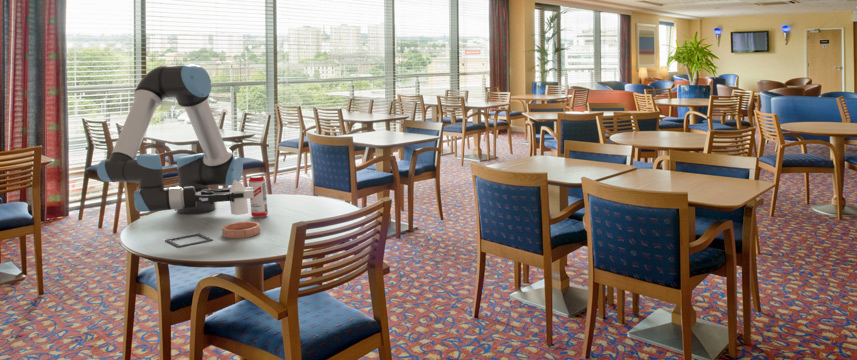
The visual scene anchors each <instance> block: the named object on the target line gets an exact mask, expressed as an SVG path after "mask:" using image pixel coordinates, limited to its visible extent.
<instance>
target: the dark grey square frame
mask: <svg viewBox="0 0 857 360" xmlns="http://www.w3.org/2000/svg"><path fill="white" fill-rule="evenodd" d="M195 236H198V237H201V238H203V239H205V240H199V241H194V242H189V243H185V244H178V243H176V242H174V241H176V240H175V239H177V240H180V238H182V239H185V238H186V237H187V238H190V237H195ZM170 240H172V241H170ZM164 241H165V242H166V241H167V242H166V243H168V244H170V245H172V246H174V247H176V248H178V247H179V248H184V247H187V246H194V245H197V244H198V245H199V244H202V243H207V242H212V241H214V239H213V238H211V237H208V236H206V235H205V234H202V233H200V232H199V233H194V234H193V233H192V234H188V235H183V236H182V235H181V236H177V237H172V238H169V239H165V240H164Z"/></svg>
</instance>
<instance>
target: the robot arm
mask: <svg viewBox="0 0 857 360" xmlns="http://www.w3.org/2000/svg"><path fill="white" fill-rule="evenodd" d="M211 83H212V81H211V76H210V75H209V72H208V71H207V70H206V69H205V68H204V67H203V66H202V65H201V66H200V65H198V64H190V63H189V64H188V63H187V64H182V65H181V64H180V65H179V64H178V65H174V64H173V65H160V66H157V67H154V68H153V69H151V70H150V71H149V72H147V74H145V75H144V76H143V78H142V79H141V80H140V81H139V83H138V84H137V86H136V88H135V90H134V92H133V97H134V100H133V103H132V105H131V107H130V109H129V113H128V115H127V117H126V119H125V121H124V124H123V126H122V129H121V131H120V134H119V135H118V138H117V140H116V142H115V145H114V147H113V149H112V152H111V154H110V156H109V159H103V160H101V161H100V162H99V163H98V164H97V167H96V173H97V177H98V178H99V179H100V180H101V181H103V182H107V183H127V182H128V183H139V189H137V190H134V193H133V203H134V208H135V210H136V211H137V212H139V213H141V212H142V213H144V212H150V213H152V212H162V211H172V210H174V212H177V213H178V212H179V213H178V214H181V213H183V215H190V214H191V215H194V214H203V213H207V212H211V211H213V210H214V211H215V209H216V203H219V202H220V203H221V202H230V201H232V202H234V200H235V199H247V200H248V199H250V198H254V193H253V187H249V186H247V187H246V191H234V192H230V189H231V187H232V185H233V181H234V180H236V181H239V182H240V181H241V179H242V176H243V173H244V170H243V169H244V165H243V161H242V159H241V157H239V156H234V155H233V152H232V150H231V149H230V148H228V147H226V145H225V142H224V140H223V137H222V134H221V132H220V130H219V127H218V124H217V122H216V119H215V117H214V115H213V114H214V113H212V109H211V107H210V105H209V102H208V99H209V98H210V93H211V91H212V84H211ZM167 98H175V99H176V102H177V104H178V106H180V107H181V108H184V110H185V112H186V114H187V117H188V118H189V121H190V124H191V125H192V129H193V131H194V133H195V136H196V138H197V140H198V142H199V146H200V147H201V149H202V152H201V153H194V154H190V155H184V156H181V157H178V158H177V159H176V170H177V171H176V172H177V180H178V186H177V187H175V186H174V187H165V186H164V184H165V183H164V174H163V173H164V172H163V165H162V160H161V158H162V157H161V155H160V154H158V153H142V154H138V152H139V149H140V147H141V144H142V142H143V140H144V138H145V135H146V132H147V130H148V128H149V125H150V123H151V121H152V119H153V116H154V113H155V111H156V109H157V107H159V106H160V105H161V104H162V102H163V100H164V99H167ZM210 186H220V187H221V186H226V187H223V188H213V189H212V188H210ZM228 186H230V187H228Z"/></svg>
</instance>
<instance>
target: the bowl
mask: <svg viewBox="0 0 857 360" xmlns="http://www.w3.org/2000/svg"><path fill="white" fill-rule="evenodd" d="M221 229H222V235H223V237H224V238H227V239H246V238H251V237H255V236H257V235H259V234H260V232H261V223H259V222H257V221H237V222H233V223H232V222H231V223H227V224H226V225H223V226H222V228H221Z"/></svg>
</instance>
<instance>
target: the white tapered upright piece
mask: <svg viewBox="0 0 857 360" xmlns="http://www.w3.org/2000/svg"><path fill="white" fill-rule="evenodd" d="M231 186H232V187H231ZM231 186H230V187H231V189H230V192H234V191H246V187H245V185H243V183H241V182H240V181H236V180H234V181H233V185H231ZM229 205H230V213H231V214H232V215H235V216H237V215H245V214H249V207H248V205H249V204H248V199H235V200H234V202H232V201H229Z"/></svg>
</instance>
